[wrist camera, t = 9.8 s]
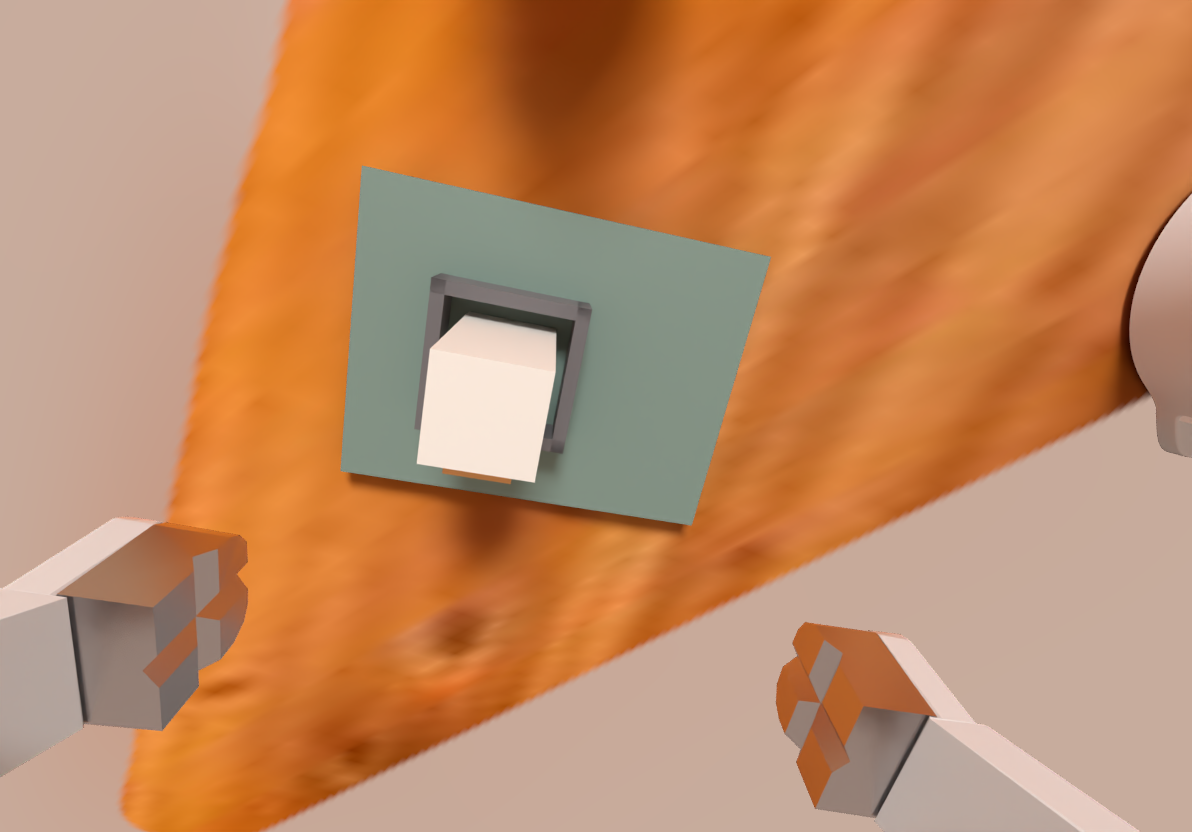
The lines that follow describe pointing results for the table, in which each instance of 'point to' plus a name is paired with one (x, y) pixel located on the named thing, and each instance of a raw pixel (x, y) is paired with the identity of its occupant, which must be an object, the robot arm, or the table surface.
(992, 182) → the table surface
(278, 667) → the table surface
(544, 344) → the plug
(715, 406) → the board
